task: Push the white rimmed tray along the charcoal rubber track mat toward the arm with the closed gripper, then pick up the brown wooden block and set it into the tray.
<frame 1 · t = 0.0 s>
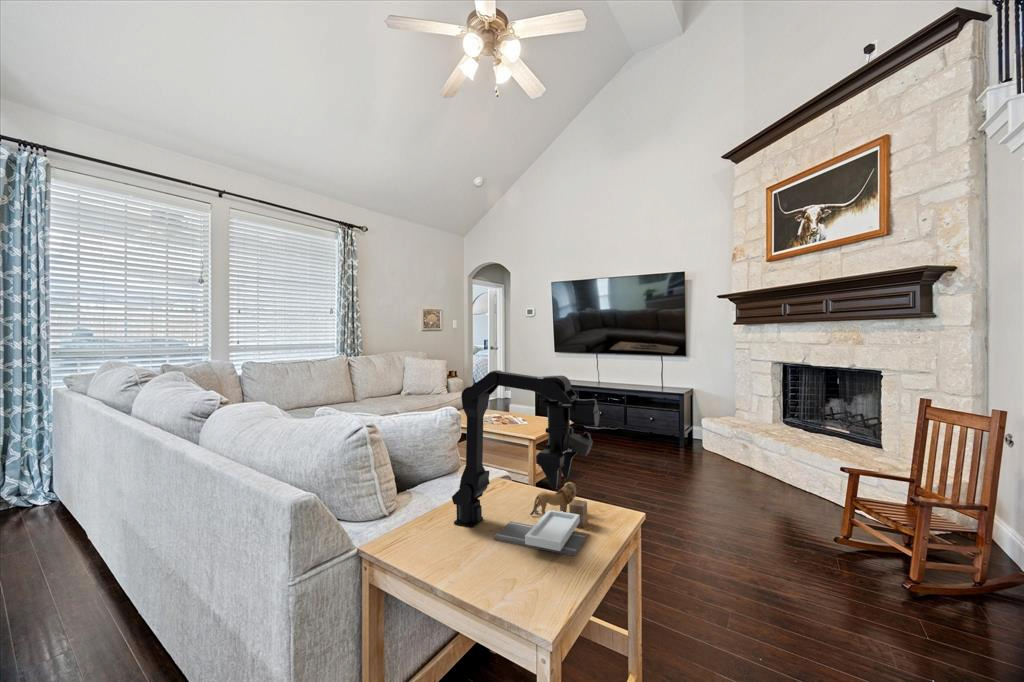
hand: (560, 483, 107), 15 cm above the table, tool pointing down, fingers open, 9 cm apart
lion figurine: (555, 514, 124), on the table
white rimmed tray: (553, 531, 106), point 3 cm above the table, slide at 0.0 cm
track mat: (539, 538, 108), on the table
brown wooden block: (578, 524, 116), on the table
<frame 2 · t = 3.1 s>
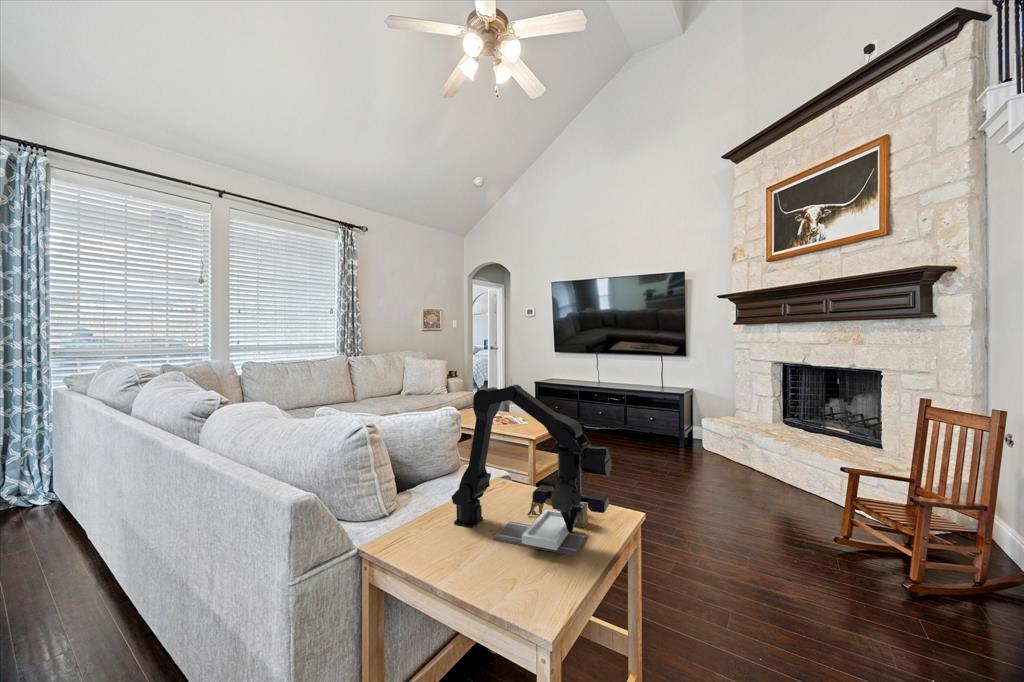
hand: (570, 531, 104), 3 cm above the table, tool pointing down, fingers closed
white rimmed tray: (550, 530, 106), point 3 cm above the table, slide at 0.9 cm, touching gripper
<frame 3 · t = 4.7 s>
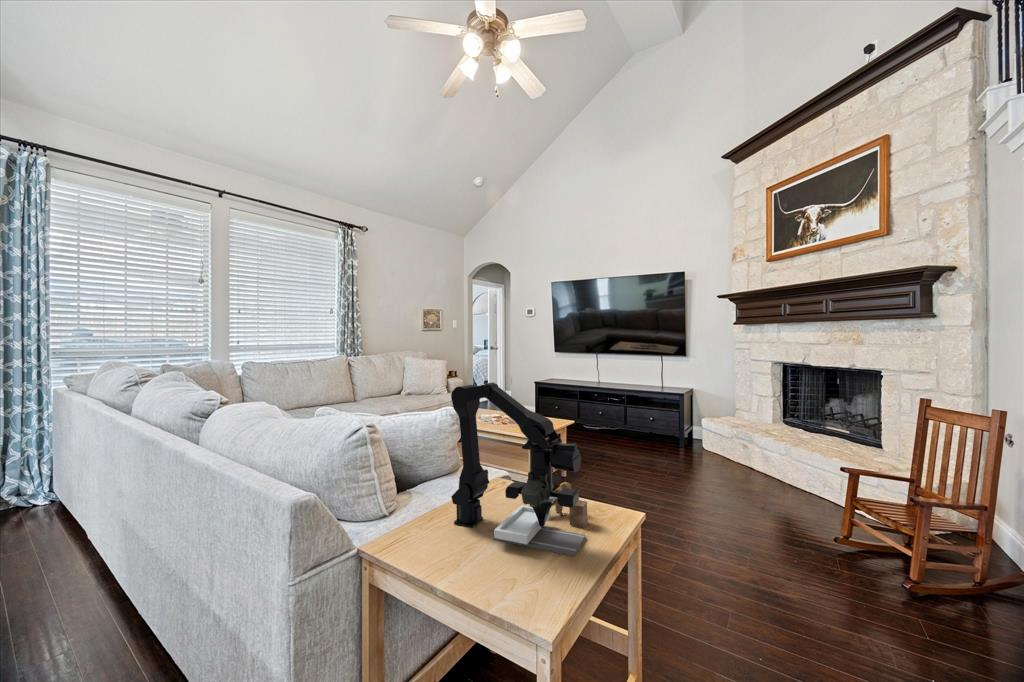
hand: (542, 526, 107), 3 cm above the table, tool pointing down, fingers closed
white rimmed tray: (523, 525, 110), point 3 cm above the table, slide at 8.5 cm, touching gripper
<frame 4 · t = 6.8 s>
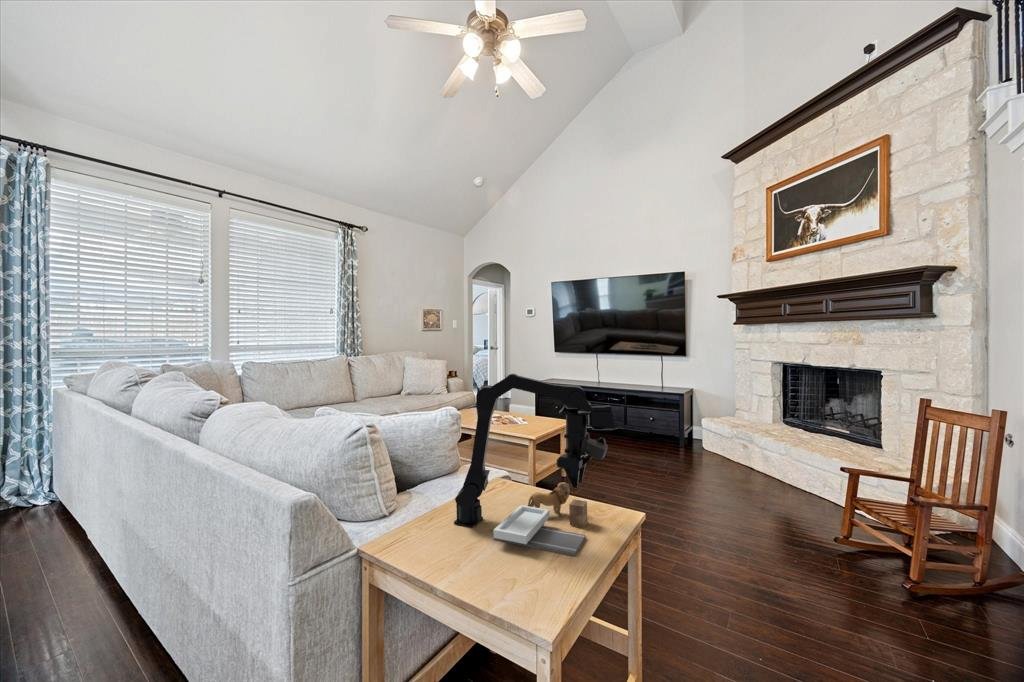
hand: (577, 485, 116), 11 cm above the table, tool pointing down, fingers open, 4 cm apart
white rimmed tray: (523, 525, 110), point 3 cm above the table, slide at 8.7 cm
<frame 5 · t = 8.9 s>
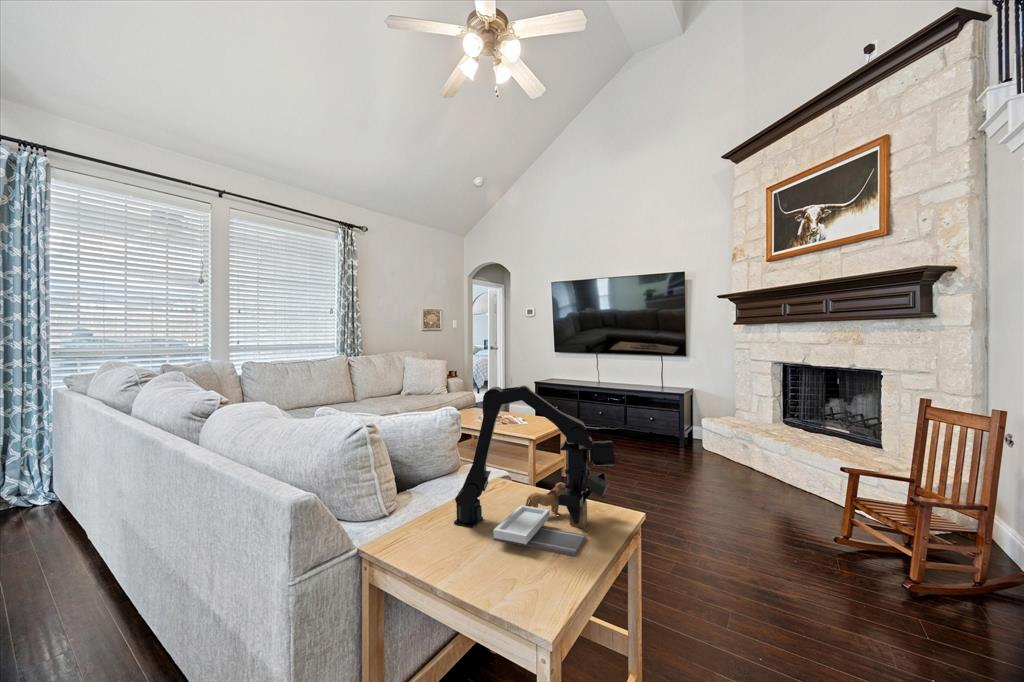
hand: (578, 520, 116), 1 cm above the table, tool pointing down, fingers closed on brown wooden block, 4 cm apart
brown wooden block: (578, 523, 116), on the table, touching gripper
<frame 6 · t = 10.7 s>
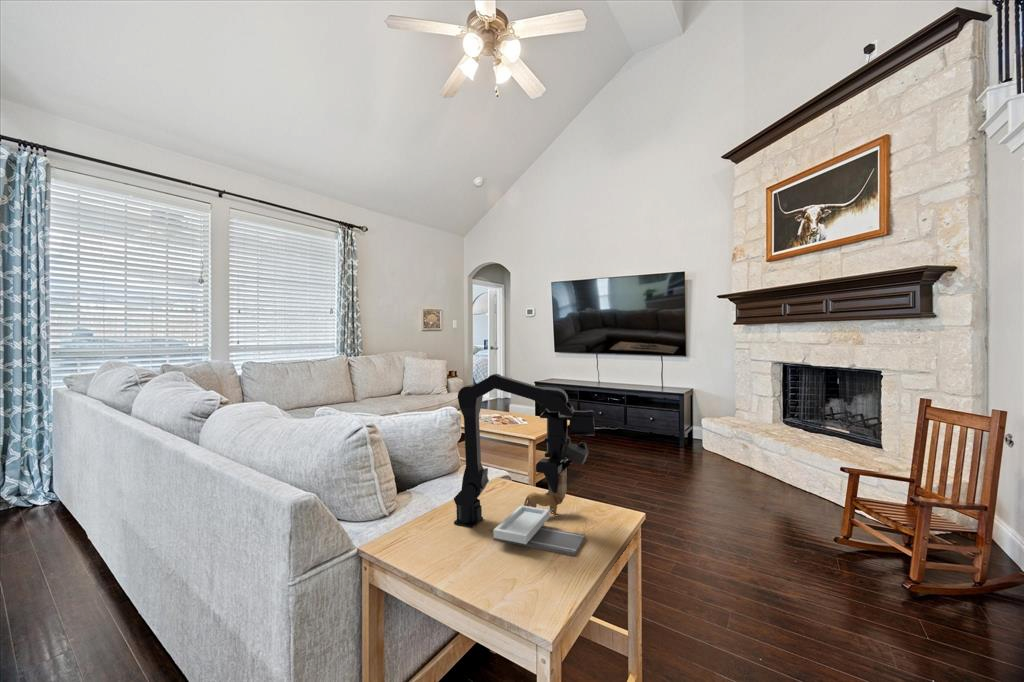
hand: (557, 490, 114), 10 cm above the table, tool pointing down, fingers closed on brown wooden block, 4 cm apart
brown wooden block: (557, 493, 114), point 9 cm above the table, touching gripper
when the fingers open (6 cm above the table, at t = 12.6 s): brown wooden block drops 1 cm, resting on white rimmed tray.
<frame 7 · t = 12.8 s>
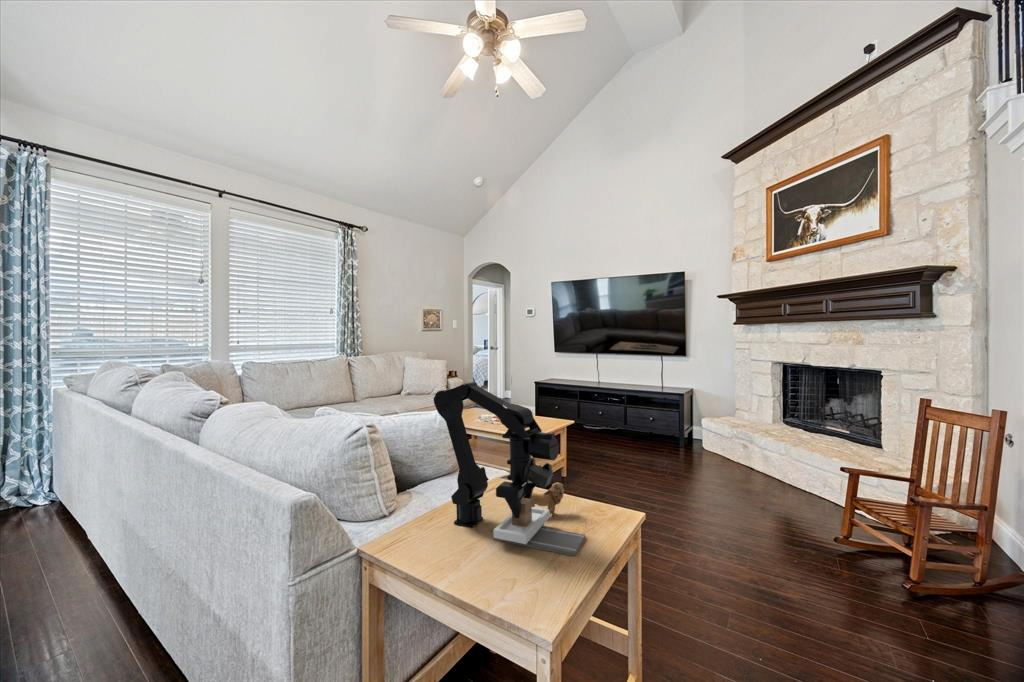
hand: (521, 513, 110), 6 cm above the table, tool pointing down, fingers open, 6 cm apart
white rimmed tray: (523, 525, 110), point 3 cm above the table, slide at 8.7 cm, touching brown wooden block
brown wooden block: (522, 522, 110), point 3 cm above the table, touching white rimmed tray
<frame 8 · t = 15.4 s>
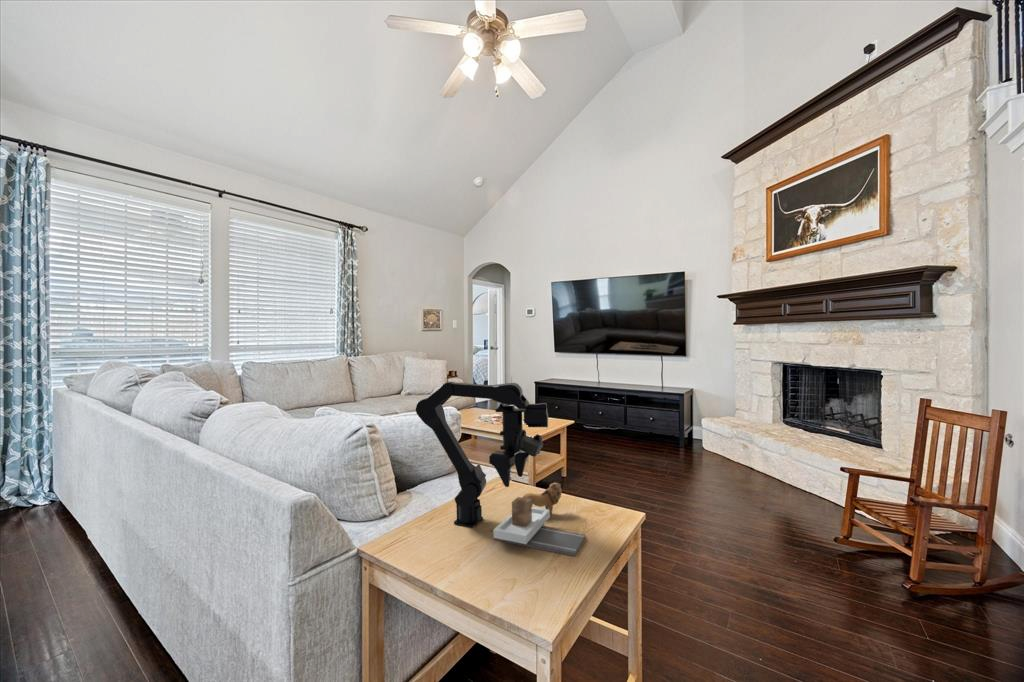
hand: (513, 481, 118), 12 cm above the table, tool pointing down, fingers open, 9 cm apart
at the end: white rimmed tray slide at 8.7 cm; brown wooden block inside the target area on the white rimmed tray (0.3 cm from its centre), point 3.4 cm above the white rimmed tray's base; brown wooden block tilted 0° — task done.
